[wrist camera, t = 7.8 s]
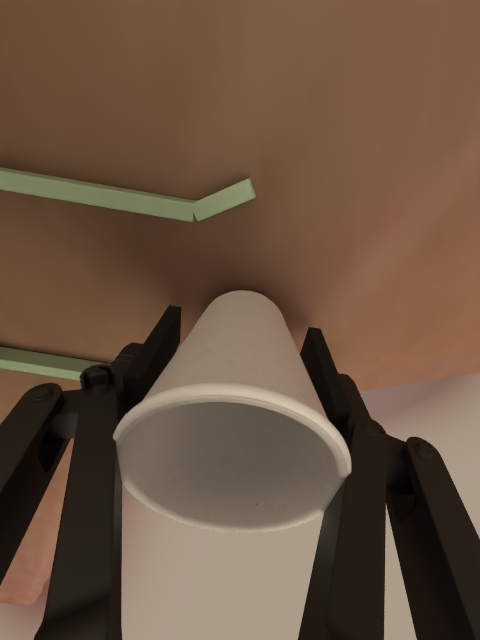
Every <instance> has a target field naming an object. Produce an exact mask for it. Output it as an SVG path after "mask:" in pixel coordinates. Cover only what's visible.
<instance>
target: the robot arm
mask: <svg viewBox="0 0 480 640" xmlns="http://www.w3.org/2000/svg"><path fill="white" fill-rule="evenodd" d="M180 329H181V307H177V306H171V305H169V307H168V308H167V310H166V311H165V313H164V314H163V316H162V317H161V319H160V320H159V322H158V323H157V325H156V326H155V328H154V329H153V331H152V332H151V334H150V335H149V337H148V338H147V340H146V341H145V343H144V344H139V343H133V342H132V343H130V344H129V345H127V346H126V347H124V348H123V349H122V351H121V352H120V353H119V355H118V356H117V357H116V359H115V360H114V361H113V363H112V364H111V365H107V364H97V365H93V366H90V367H88V368H86V369H85V370H84V371H83V372H82V373H81V375H80V376H79V378H80V382H81V386H82V389H79V390H70V391H62V389H61V387H60V386H59V385H57V384H54V383H46V384H41V385H38V386H35V387H33V388H32V389H30V390H28V391H27V392H26V393H25V394H24V395H23V396H22V398H21V399H20V400H19V402H18V403H17V404H16V405H15V407H14V408H13V409H12V411H11V412H10V413H9V415H8V416H7V417H6V418H5V420H4V421H3V422H2V424H1V425H0V585H1V583H2V581H3V579H4V577H5V574H6V572H7V570H8V568H9V566H10V564H11V562H12V560H13V558H14V556H15V554H16V552H17V550H18V547H19V545H20V543H21V541H22V539H23V537H24V535H25V533H26V531H27V529H28V527H29V525H30V522H31V520H32V518H33V516H34V514H35V512H36V510H37V508H38V506H39V504H40V502H41V500H42V497H43V495H44V493H45V491H46V489H47V487H48V485H49V483H50V481H51V479H52V477H53V475H54V473H55V470H56V468H57V466H58V464H59V462H60V460H61V458H62V456H63V454H64V452H65V450H66V448H67V445H68V443H69V441H70V439H71V438H75V439H74V445H73V450H72V456H71V462H70V468H69V474H68V480H67V485H66V491H65V497H64V503H63V509H62V515H61V520H60V526H59V532H58V538H57V544H56V550H55V555H54V561H53V567H52V573H51V579H50V585H49V591H48V596H47V602H46V608H45V613H44V618H43V621H42V624H41V626H40V628H39V629H38V631H37V633H36V635H35V637H34V640H122V630H121V563H122V562H121V561H122V558H121V557H122V555H121V554H122V549H121V548H122V480H121V473H120V467H119V460H118V454H117V448H116V440H114V439H113V434H114V432H115V430H116V428H117V426H118V424H119V423H120V421H121V420H122V418H123V417H124V415H125V414H127V413H128V412H129V411H130V410H131V409H132V408H134V407H135V406H136V405H138V404H139V403H140V402H142V401H143V399H144V398H145V396H146V395H147V393H148V392H149V391H150V389H151V388H152V386H153V385H154V383H155V382H156V380H157V379H158V378H159V376H160V375H161V373H162V372H163V370H164V369H165V368H166V366H167V365H168V363H169V362H170V360H171V359H172V357H173V356H174V354H175V352H176V350H177V348H178V346H179V343H180ZM300 357H301V359H302V361H303V364H304V366H305V368H306V370H307V373H308V375H309V377H310V379H311V382H312V384H313V386H314V389H315V391H316V393H317V395H318V398H319V400H320V402H321V404H322V407H323V409H324V411H325V414H326V416H327V418H328V420H329V421H330V422H331V423H332V424H333V426H334V427H335V428H336V429H337V430H338V431H339V433H340V434H341V436H342V437H343V439H344V441H345V443H346V445H347V447H348V450H349V453H350V457H351V473H350V474H348V476H347V477H346V478H345V480H344V482H343V483H342V485H341V486H340V488H339V489H338V491H337V492H336V494H335V495H334V497H333V499H332V500H331V502H330V504H329V505H328V507H327V509H326V510H325V512H324V516H323V521H322V526H321V530H320V535H319V540H318V545H317V550H316V554H315V560H314V564H313V569H312V574H311V579H310V584H309V589H308V593H307V598H306V603H305V608H304V613H303V618H302V622H301V627H300V632H299V637H298V640H384V591H385V585H384V584H385V520H386V512H385V511H386V505H387V509H388V514H389V518H390V523H391V527H392V531H393V536H394V540H395V545H396V549H397V554H398V558H399V562H400V567H401V571H402V576H403V580H404V584H405V589H406V593H407V598H408V602H409V606H410V611H411V615H412V620H413V624H414V629H415V633H416V637H417V640H480V539H479V537H478V535H477V533H476V530H475V528H474V526H473V524H472V522H471V519H470V517H469V515H468V513H467V511H466V509H465V507H464V504H463V502H462V500H461V498H460V496H459V494H458V492H457V490H456V487H455V485H454V483H453V481H452V479H451V477H450V475H449V472H448V470H447V468H446V466H445V464H444V461H443V459H442V457H441V455H440V454H439V452H438V451H437V450H436V449H435V448H434V447H433V446H432V445H431V444H430V443H428V442H427V441H425V440H423V439H421V438H419V437H410V438H408V439H407V441H406V442H404V441H401V440H399V439H397V438H394V437H392V436H389V435H387V434H386V432H385V430H384V429H383V427H382V426H381V425H380V424H379V423H377V422H376V421H374V420H373V419H371V417H370V415H369V413H368V411H367V409H366V407H365V404H364V402H363V400H362V398H361V397H360V393H359V391H358V389H357V387H356V384H355V382H354V381H353V380H352V379H351V378H350V377H349V376H348V375H345V374H339V373H338V372H337V369H336V367H335V364H334V362H333V359H332V357H331V354H330V352H329V349H328V347H327V344H326V342H325V339H324V336H323V334H322V331H321V329H318V328H311V327H309V328H308V331H307V334H306V338H305V341H304V344H303V347H302V350H301V353H300Z"/></svg>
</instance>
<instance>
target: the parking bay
mask: <svg viewBox="0 0 480 640" xmlns="http://www.w3.org/2000/svg"><path fill="white" fill-rule="evenodd" d="M0 190H5V191H11V192H17V193H23V194H29V195H35V196H40V197H46V198H52V199H58V200H64V201H70V202H76V203H82V204H88V205H93V206H99V207H105V208H111V209H117V210H123V211H129V212H135V213H141V214H146V215H152V216H158V217H164V218H170V219H176V220H182V221H188V222H194V221H195V220H196V219H197V221H198V222H199V221H201V220H204V219H206V218H208V217H211V216H213V215H216V214H218V213H220V212H223V211H225V210H227V209H230V208H232V207H235V206H237V205H239V204H242V203H244V202H246V201H249V200H251V199H254V198H255V197H256V194H255V191H254V188H253V185H252V182H251V179H250V178H248V179H245V180H243V181H241V182H239V183H236V184H234V185H232V186H230V187H227V188H225V189H223V190H221V191H218V192H216V193H214V194H212V195H209V196H207V197H205V198H203V199H200V200H198V201H195V200H189V199H183V198H177V197H171V196H166V195H160V194H154V193H148V192H142V191H136V190H131V189H125V188H119V187H113V186H107V185H101V184H96V183H90V182H84V181H78V180H72V179H66V178H61V177H55V176H49V175H43V174H37V173H31V172H26V171H20V170H14V169H8V168H2V167H0ZM97 364H106V363H100V362H94V361H88V360H81V359H75V358H69V357H63V356H56V355H50V354H44V353H37V352H31V351H25V350H19V349H12V348H6V347H0V368H4V369H10V370H16V371H23V372H29V373H35V374H42V375H48V376H54V377H61V378H67V379H73V380H80V378H79V376H80V375H81V373H82V372H83V371H84V370H85V369H86V368H88V367H90V366H93V365H97ZM107 365H111V364H107Z"/></svg>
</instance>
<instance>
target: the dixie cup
mask: <svg viewBox="0 0 480 640" xmlns="http://www.w3.org/2000/svg"><path fill="white" fill-rule="evenodd" d="M113 439H114V440H116V448H117V454H118V460H119V467H120V473H121V480H122V483H123V485H124V486H125V487H126V489H127V490H128V491H129V492H130V493H131V494H132V495H133V496H134V497H135V498H136V499H138V500H139V501H140V502H141V503H143V504H144V505H146V506H147V507H149V508H150V509H152V510H154V511H155V512H157V513H159V514H161V515H163V516H165V517H167V518H170V519H172V520H174V521H177V522H180V523H183V524H186V525H189V526H193V527H197V528H201V529H205V530H211V531H218V532H226V533H264V532H272V531H278V530H283V529H287V528H291V527H295V526H298V525H300V524H303V523H306V522H308V521H310V520H312V519H314V518H316V517H318V516H320V515H321V514H323V513H324V512H325V510H326V509H327V507H328V505H329V504H330V502H331V500H332V499H333V497H334V495H335V494H336V492H337V491H338V489H339V488H340V486H341V485H342V483H343V482H344V480H345V478H346V477H347V476H348V474H350V473H351V457H350V453H349V450H348V447H347V445H346V443H345V441H344V439H343V437H342V436H341V434H340V433H339V431H338V430H337V429H336V428H335V427H334V426H333V424H332V423H331V422H330V421H329V420H328V418H327V416H326V414H325V411H324V409H323V407H322V404H321V402H320V400H319V398H318V395H317V393H316V391H315V389H314V386H313V384H312V382H311V379H310V377H309V375H308V373H307V370H306V368H305V366H304V364H303V361H302V359H301V357H300V354H299V352H298V350H297V348H296V345H295V343H294V341H293V339H292V336H291V334H290V332H289V330H288V327H287V325H286V323H285V320H284V318H283V316H282V313H281V312H280V310H279V308H278V307H277V306H276V305H275V304H274V303H273V302H272V301H271V300H270V299H268V298H267V297H266V296H264V295H262V294H259V293H256V292H252V291H245V290H239V291H232V292H228V293H225V294H223V295H221V296H219V297H218V298H216V299H215V300H214V301H212V302H211V303H210V305H209V306H208V307H207V309H206V310H205V311H204V313H203V314H202V315H201V316H200V318H199V319H198V321H197V322H196V324H195V326H194V327H193V329H192V330H191V332H190V333H189V335H188V336H187V337H186V339H185V340H184V342H183V343H182V345H181V346H180V347H179V349H178V350H177V352H176V353H175V355H174V356H173V357H172V359H171V360H170V362H169V363H168V365H167V366H166V368H165V369H164V370H163V372H162V373H161V375H160V376H159V378H158V379H157V380H156V382H155V383H154V385H153V386H152V388H151V389H150V391H149V392H148V393H147V395H146V396H145V398H144V399H143V401H142V402H140V403H139V404H138V405H136V406H135V407H134V408H132V409H131V410H130V411H129V412H128V413H127V414H126V415H125V416H124V417H123V418H122V420H121V421H120V423H119V424H118V426H117V428H116V430H115V432H114V434H113Z"/></svg>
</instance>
